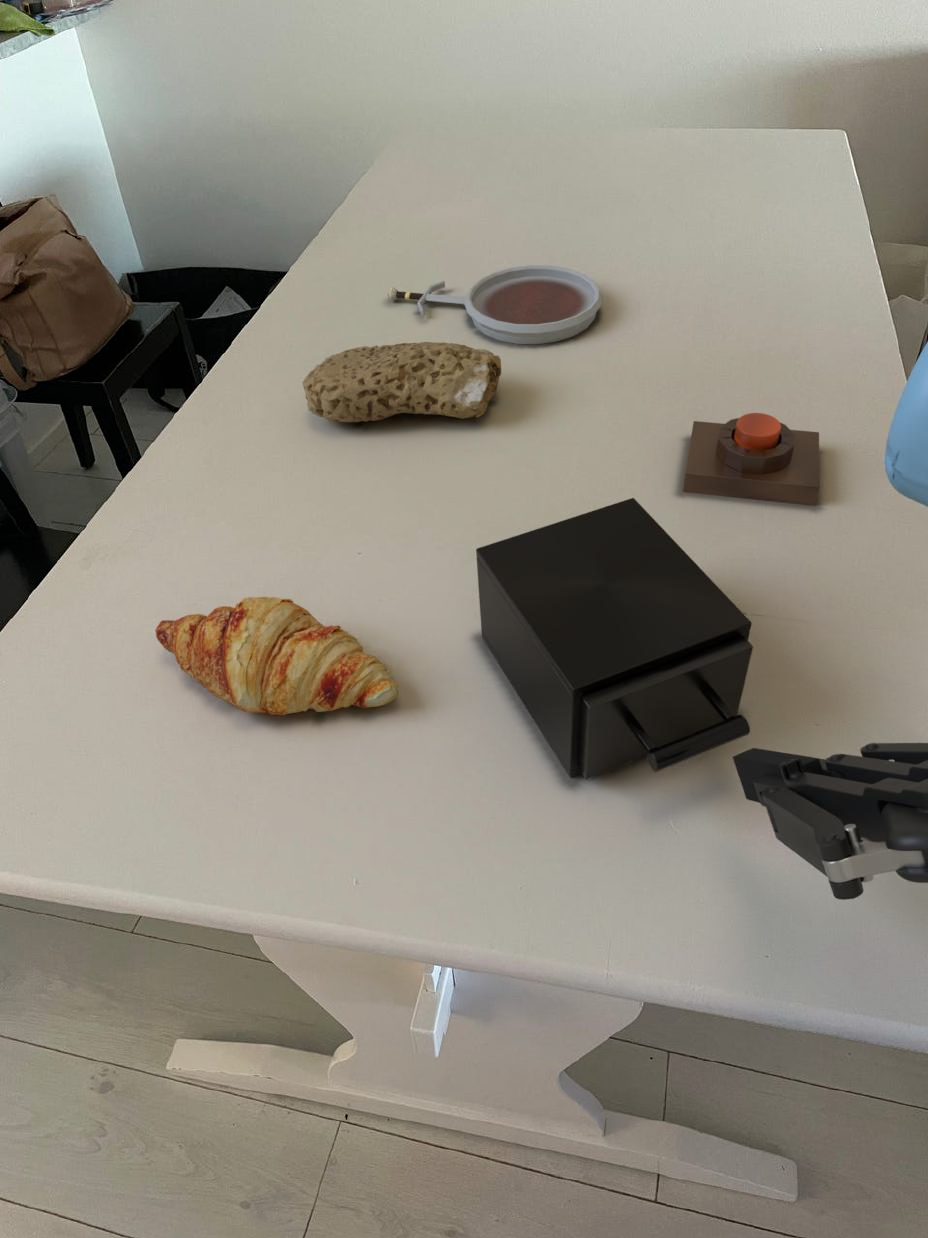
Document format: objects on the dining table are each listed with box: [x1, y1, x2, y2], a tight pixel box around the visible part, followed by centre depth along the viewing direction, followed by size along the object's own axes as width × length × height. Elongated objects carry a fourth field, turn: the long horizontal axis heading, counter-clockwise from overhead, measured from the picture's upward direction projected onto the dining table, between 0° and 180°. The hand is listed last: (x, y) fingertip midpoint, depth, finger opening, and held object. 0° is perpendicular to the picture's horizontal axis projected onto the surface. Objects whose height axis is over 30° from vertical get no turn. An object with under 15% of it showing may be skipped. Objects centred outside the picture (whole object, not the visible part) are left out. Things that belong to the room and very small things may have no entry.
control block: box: [682, 417, 820, 507], centre depth 89 cm, size 12×9×4 cm
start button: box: [734, 412, 781, 451], centre depth 87 cm, size 4×4×2 cm
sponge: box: [302, 341, 502, 423], centre depth 99 cm, size 13×8×20 cm
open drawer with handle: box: [578, 635, 754, 780], centre depth 67 cm, size 19×12×8 cm, turn 23°
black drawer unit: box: [475, 497, 752, 778], centre depth 69 cm, size 16×14×10 cm
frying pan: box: [386, 264, 603, 345], centre depth 116 cm, size 17×3×28 cm
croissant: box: [154, 596, 399, 716], centre depth 73 cm, size 21×10×8 cm, turn 71°
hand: (750, 773), depth 55 cm, fingers closed
